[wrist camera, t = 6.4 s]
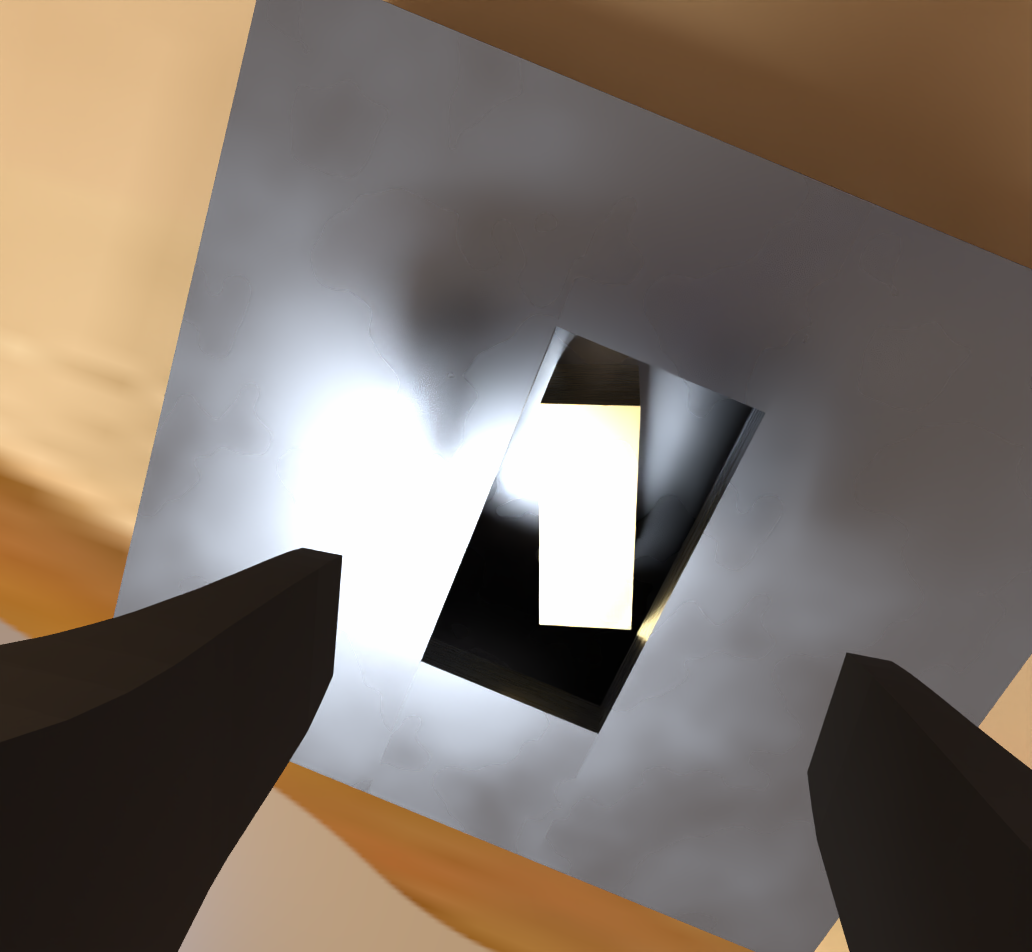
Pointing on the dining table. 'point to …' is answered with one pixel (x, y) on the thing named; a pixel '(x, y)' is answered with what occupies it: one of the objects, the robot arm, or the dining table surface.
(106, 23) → the dining table surface
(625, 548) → the block
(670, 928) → the dining table surface
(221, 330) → the coin box
